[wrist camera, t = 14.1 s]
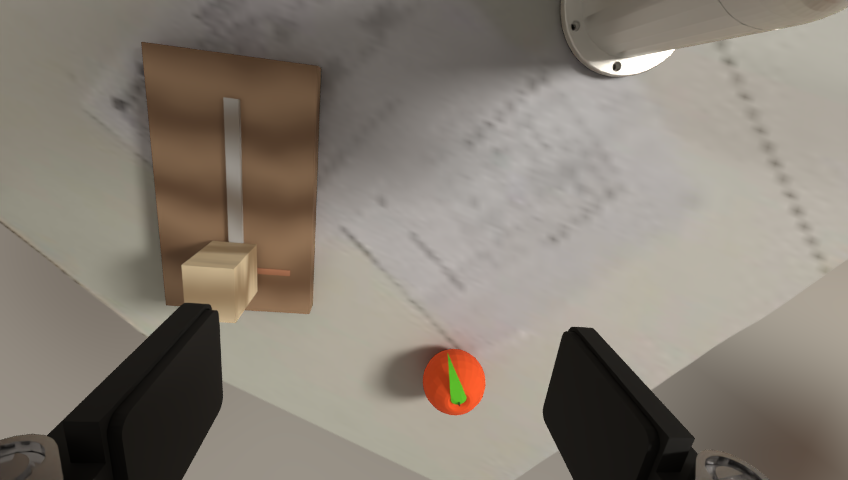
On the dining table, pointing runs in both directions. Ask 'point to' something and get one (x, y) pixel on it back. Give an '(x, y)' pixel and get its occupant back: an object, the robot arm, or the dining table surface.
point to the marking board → (236, 165)
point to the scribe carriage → (222, 278)
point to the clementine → (454, 382)
